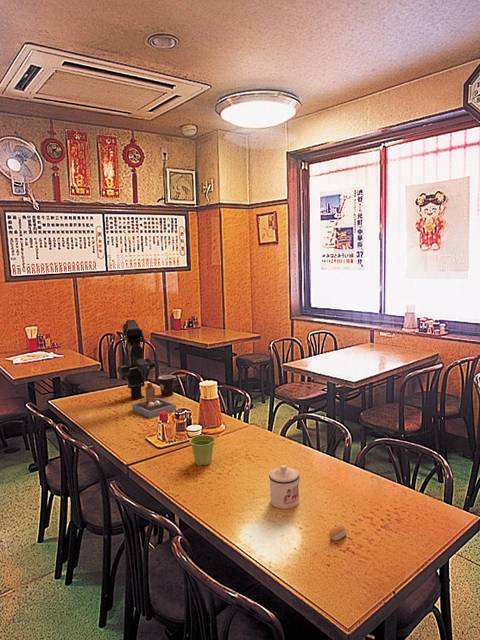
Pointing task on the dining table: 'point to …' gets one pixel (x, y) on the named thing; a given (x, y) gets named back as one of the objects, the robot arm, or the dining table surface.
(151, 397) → the brown wooden box
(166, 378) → the coffee mug
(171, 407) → the bin
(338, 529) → the sushi
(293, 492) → the teacup with lid
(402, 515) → the dining table surface
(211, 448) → the plant pot
